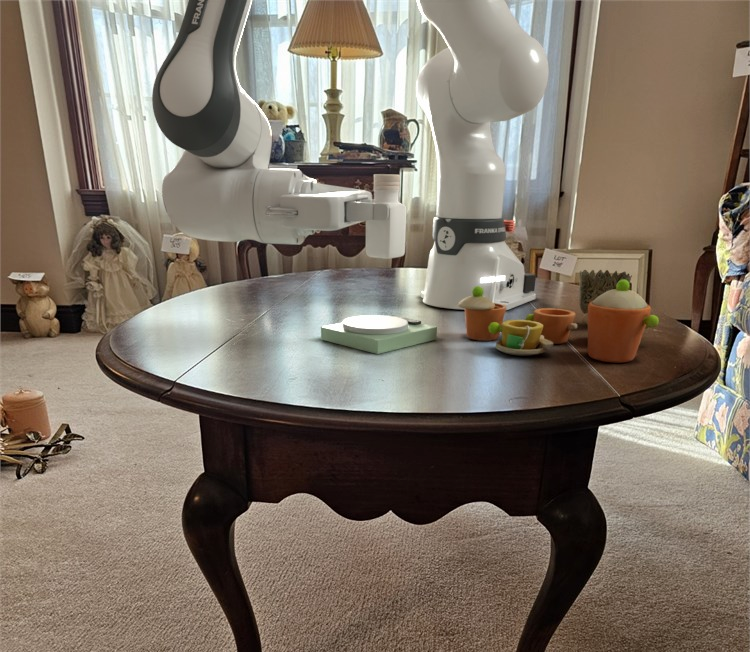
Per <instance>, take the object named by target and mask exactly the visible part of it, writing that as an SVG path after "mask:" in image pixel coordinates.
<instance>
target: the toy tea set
mask: <svg viewBox="0 0 750 652" xmlns="http://www.w3.org/2000/svg"><path fill="white" fill-rule="evenodd" d="M616 287H617V289H613V290H610V291H607V292H605V293H603V294H601V295H600V296H598V297H597V298H596V299H595V300H594V301H592V302H590V303H589V305H588V313H586V314H584V313H583V315H582V317H581V322H582V323H584V324H585V325H586V324H587V325H588V326H587V325H586V326H587V355H588V357H589V358H591V359H593V360H596V361H599V362H603V363H604V362H605V363H614V364H616V363H617V364H618V363H619V364H622V363H628V362H631V361H633V360H634V359H635V357H636V356H637V352H638V349H639V346H640V344H641V341H642V338H643V335H644V333H645V330H646V329H649V328H651V329H653V328H655V327H657V326H658V325H659V321H660V320H659V317H658V316H656V314H651V312H652V308H651V305H649V304H648V303H647V302H646V301H645V299H644V298H643V296H641V295H640V294H638V293H637V292H636V291H633V290H630V289H629V288H630V283H629V282H628V281H627V280H620V281H619V282H618V283H617V286H616ZM472 294H473V296H469V297H467V298H465V299H463V300H462V301H461V302H459V304H458V305H459V307H461V308H465V310H464V319H465V330H466V331H465V332H466V336H467V338H468V339H470V340H474V341H478V342H479V341H481V342H489V341H491V342H492V341H495V340H497V339H499V337H500V334H501V339H500V340H497V341H496V342H495V349H497V350H498V351H500V352H502V353H505V354H507V355H511V356H512V355H513V356H519V357H530V356H531V357H532V356H538V355H540V354H543V353H545V352H546V351H547V350H549V349H553V348H554V345H562V344H565V343H566V342H568V340H569V337H570V334H571V331H574V330H577V329H578V323H576V322H574V321H575V318H576V313H575V311H573V310H569V309H564V308H563V309H562V308H553V307H552V308H551V307H544V308H537V309H534V310H533V313H528V314H527V315H526V317H525V319H507V320H504V319H505V315H506V311H507V310H506V306H505V305H502V304H498V303H493V302H492V301H491V300H490V299H488V298H486V297H484V296H482V295H483V289H482V288H481V287H480V286H476V287H475V288H474V289H473V291H472Z"/></svg>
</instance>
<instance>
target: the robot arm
mask: <svg viewBox="0 0 750 652" xmlns="http://www.w3.org/2000/svg"><path fill="white" fill-rule="evenodd" d="M252 2H253V0H188V1H187V6H186V8H185V12H184V15H183V19H182V21H181V25H180V28H179V31H178V34H177V36H176V39H175V41H174V43H173V45H172V47H171V49H170V50H169V52H168V54H167V56H166V57H165V59H164V61H163V62H162V64H161V65H160V68H159V70H158V72H157V74H156V77H155V79H154V83H153V87H152V93H151V94H152V96H151V102H152V110H153V111H152V112H153V115H154V119H155V121H156V123H157V126H158V128H159V129H160V131H161V133H162V134H163V135H164V137H165V138H166V139H167V140H168V141H170V143H171V144H173V145H174V146H177V147H178V148H180V149H182V150H183V153H182V155H181V156H180V158H179V160H178V161H177V163H176V165H175V166H174V167H173V169H171V171H169V172H168V173H167V174H166V175H165V176H164V178H163V180H162V183H161V184H162V185H161V195H162V201H163V202H162V203H163V206H164V209H165V212H166V213H167V215H168V217H169V219H170V221H171V223H172V224H173V226H174V227H175V228H176V229H177V230H178V231H179V232H181V233H182V234H184V235H185V236H187V237H191V238H193V239H198V240H204V241H211V242H225V243H238V242H239V243H240V242H242V241H246V240H251V241H256V242H258V243H262V244H270V245H271V244H274V245H299V246H300V245H302V244H303V243H304V242H305V240H306V238H307V237H308V236H312V235H315V233H316V231H322V232H325V231H326V232H331V231H332V232H333V231H339V230H342V229H345V228H347V227H351V226H354V225H357V224H360V223H364V222H366V221H367V220H386V219H388V218H389V216H390V206H389V205H388V204H385V203H372V202H374V198H373V194H372V192H371V191H368V190H365V189H359V188H352V187H347V186H338V185H332V184H325V183H321V182H318V180H317V179H314V178H312V177H309V176H307V175H306V174H304V173H303V172H302V170H300V169H297V168H270V163H271V157H272V151H273V142H274V141H273V131H272V127H271V125H270V121H269V120H268V118H267V116H266V115H265V113H264V112H263V110H262V109H261V107H260V106H259V105H258V104H257V103H256V102H255V100H253V98H252V97H251V96H250V95H249V94H247V92H246V91H245V90H244V89H243V88H242V86H241V85H240V82H239V78H238V74H237V69H236V57H237V52H238V49H239V46H240V42H241V38H242V36H243V33H244V30H245V29H244V28H245V26H246V22H247V19H248V16H249V12H250V10H251V6H252ZM416 3H417V6H418V9H419V11H420V13H421V15H422V16H423V18H424V19H426V20H427V21H428V22H429V23H431V25H433V26H434V27H435V28H436V29H437V31H438V32H439V34H440V35H441V36H442V39H444V40H443V41H444V42H445V43H446V45H447V47H446V48H443V49H441V51H439V52H437V53H436V54H435V55H433V56H432V57H430V58H429V59H428V60H427V61H426V62H425V63H424V64H423V65H422V67H421V69H420V70H419V72H418V74H417V79H416V85H415V86H416V87H415V92H416V99H417V103H418V105H419V108H420V110H421V111H422V113H423V114H424V115H425V117H426V119H427V121H428V123H429V126H430V130H431V133H432V138H433V143H434V148H435V149H434V150H435V154H436V155H435V156H436V162H437V163H436V164H437V188H436V191H437V193H436V211H435V212H436V213H435V216H434V217H433V222H432V228H431V229H432V235H431V236H432V237H431V239H432V240H434V242H433V246H432V248H431V249H430V252H429V254H428V261H427V269H426V277H425V282H424V283H425V284H424V289H423V290H421V292H420V297H421V298H422V303H423V304H425V305H428V306H432V307H436V308H444V309H450V310H451V309H452V310H464V311H465V308H461V307H459V305H458V304H459V302H461V301H462V300H463V299H465V298H467V297H469V296H473V294H472V291H473V289H474V288H475V287H476V286H480V287H481V288H482V289H483V295H482V296H484V297H486V298H488V299H490V300H491V301H492V302H493V303H498V304H502V305H505V306H506V311H508V310H511V309H513V308H517V307H519V306H521V305H524V304H527V303H528V302H531V301H535V300H536V298H537V297H536V295H537V294H536V293H535V288H536V281H537V274H534V273H529V272H525V266H524V264H523V263H522V261H521V260H520V259H519V258H518V257H517V256H516V254H515V253H514V252H513V250H512V249H511V248H510V246H509V245H508V244H507V243H506V240H507V233H509V234H513V233H514V232H515V231H514V230H516V227H517V226H516V221H515V220H514V219H511V220H507V219H504V218H503V209H504V208H503V206H504V196H505V185H506V175H507V170H506V165H505V162H504V160H503V159H502V158H501V157H500V156H499V155H498V153H497V151H496V148H495V145H494V142H493V136H492V129H491V123H497V122H498V123H499V122H508V121H511V120H512V119H515V118H517V117H520V116H522V115H524V114H526V113H529V112H531V111H532V110H533V109H535V108H536V107H537V106H538V105H539V103H540V102H541V101H542V99H543V98H544V95H545V93H546V90H547V87H548V83H549V75H550V70H549V69H550V68H549V60H548V55H547V53H546V50H545V49H544V47H543V46H542V44H541V43H540V42H539V40H537V39H536V38H534V37H533V36H531V35H530V34H529V33H528V32H526V30H525V29H524V28H523V27H522V26H521V25H520V23H519V22H518V21H517V19H516V17H515V16H514V14H513V13H512V11H511V9H510V8H509V6H508V4H507V2H506V0H416Z"/></svg>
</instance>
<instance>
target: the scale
mask: <svg viewBox="0 0 750 652" xmlns="http://www.w3.org/2000/svg"><path fill="white" fill-rule="evenodd" d="M437 335H438V326H435V325H430V324H425V323H422V320H417V319H414V318H413V319H412V318H409V317H408V318H407V317H402V316H398V315H382V314H379V315H378V314H370V315H369V314H366V315H356V316H351V317H347V318H344V319H343V320H342V322H338V323H334V324H328V325H323V326H320V337H321V338H320V339H321V340H322V341H325V342H329V343H333V344H337V345H339V346H345V347H348V348H352V349H356V350H360V351H363V352H364V351H365V352H368V353H372V354H375V355H379V354H384V353H387V352H388V353H389V352H392V351H396V350H401V349H405V348H408V347H411V346H412V347H413V346H416V345H420V344H424V343H427V342H431V341H432V342H433V341H435V340H437V339H438V337H437Z"/></svg>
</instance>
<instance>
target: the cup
mask: <svg viewBox="0 0 750 652" xmlns="http://www.w3.org/2000/svg"><path fill="white" fill-rule="evenodd" d="M589 272H590V273H589ZM632 277H633V275H632V274H631V275H630V273H627V272H626V271H621V272H620V273H618V270H614V272H613V273H612V274H611V273H610V271H609V270H608V269H606V270H605V271H603V270H602V269H599V270H598V271H597V272H596V273H595V270H594V269H592V270H591V271H588V270H587V269H583V270H580V271H579V281H578V282H579V284H578V285H579V286H578V305H579V308H580V311H581V312H582V313H583V315H584V314H586V313H588V305H589V303H590V302H592V301H594V300H595V299H596V298H597V297H598V296H600V295H601V294H603V293H605V292H607V291H610V290H613V289H617V287H616V286H617V283H618V282H619V281H620V280H627V281H628V282H629V284H630V283H631V280H632ZM585 325H586V326H587V327H588V325H587V324H585Z"/></svg>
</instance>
